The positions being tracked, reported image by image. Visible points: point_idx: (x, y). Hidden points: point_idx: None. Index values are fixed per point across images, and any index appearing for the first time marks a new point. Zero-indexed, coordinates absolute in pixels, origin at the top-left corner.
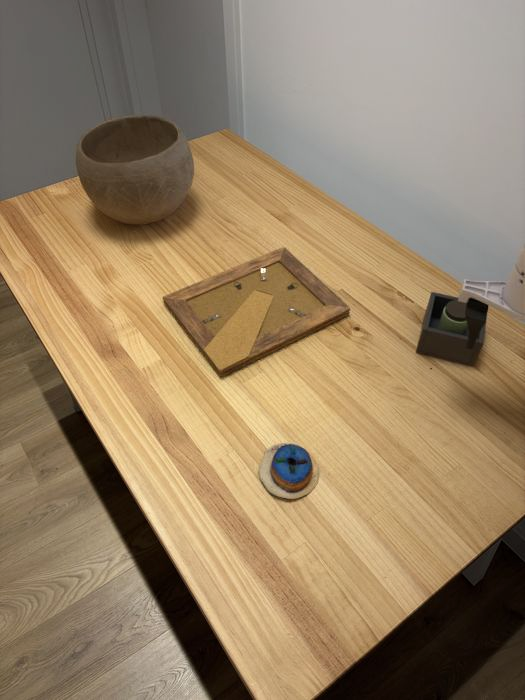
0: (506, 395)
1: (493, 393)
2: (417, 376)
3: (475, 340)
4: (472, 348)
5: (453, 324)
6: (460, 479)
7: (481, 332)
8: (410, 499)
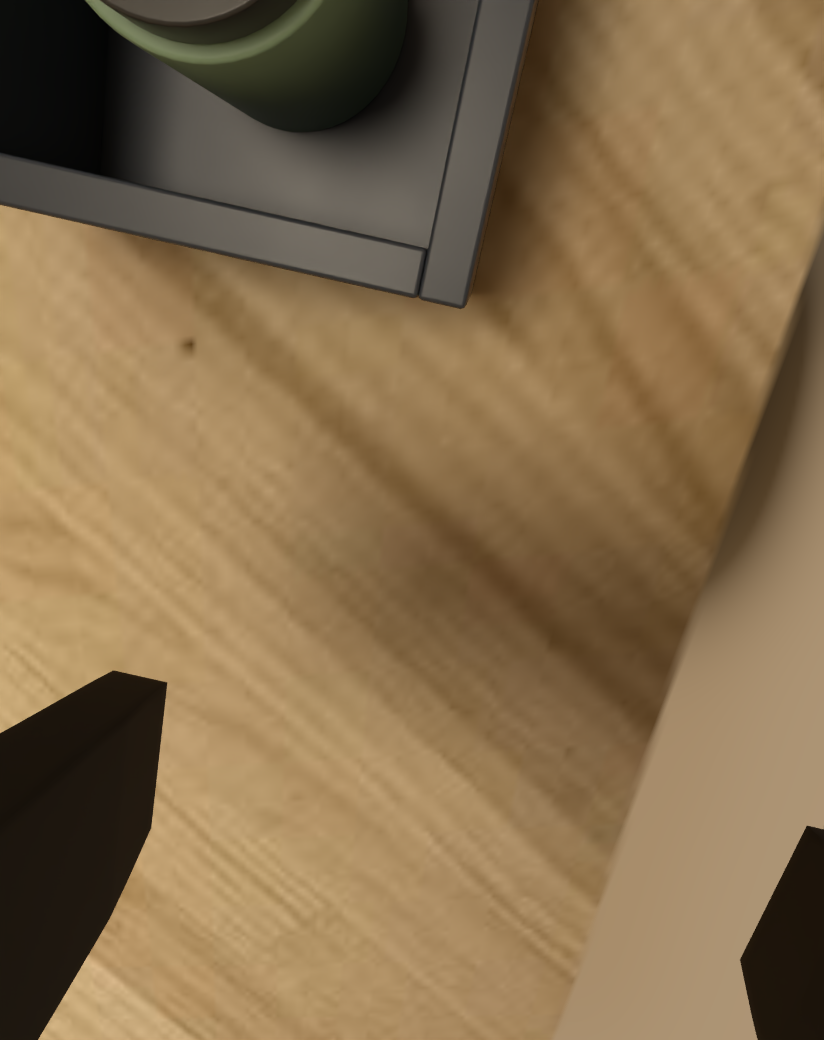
0: (644, 513)
1: (566, 506)
2: (112, 422)
3: (33, 1034)
4: (133, 862)
5: (178, 66)
6: (329, 962)
7: (466, 144)
8: (139, 1030)
